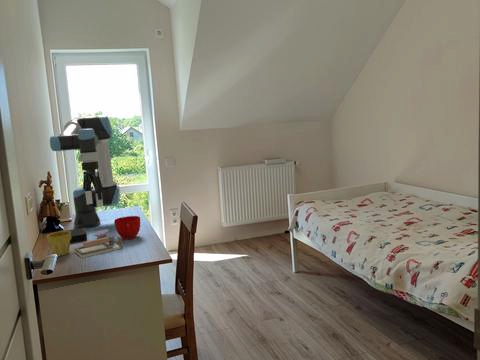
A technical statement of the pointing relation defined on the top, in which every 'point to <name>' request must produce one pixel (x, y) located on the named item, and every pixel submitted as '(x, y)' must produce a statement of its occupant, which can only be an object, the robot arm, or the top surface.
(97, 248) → the seating jig
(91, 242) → the bar
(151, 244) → the top surface
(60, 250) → the plant pot
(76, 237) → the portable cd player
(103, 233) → the toy table
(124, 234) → the ceramic cup
